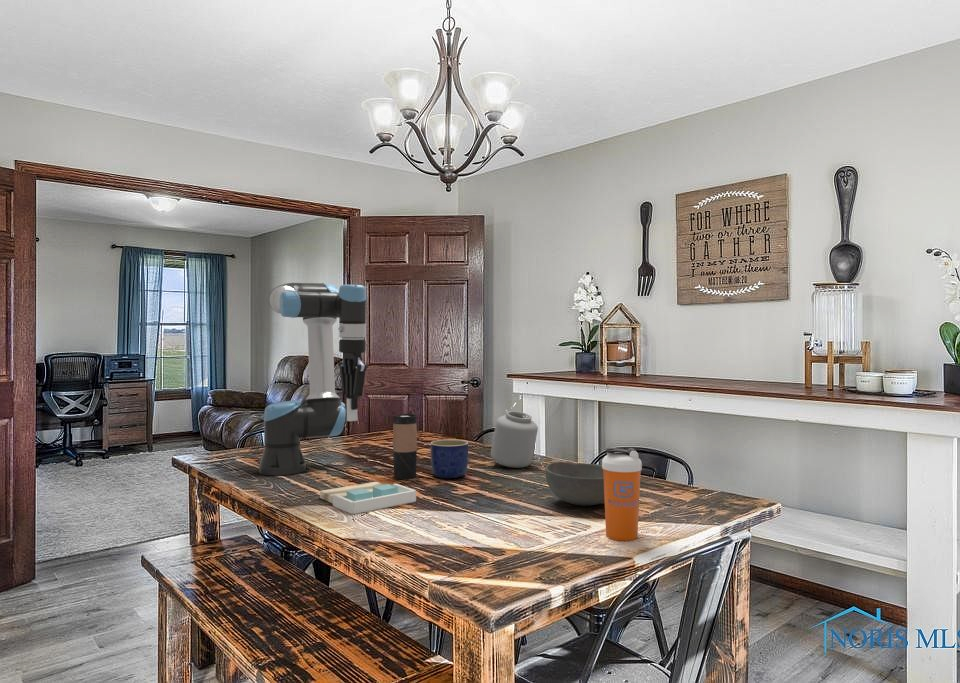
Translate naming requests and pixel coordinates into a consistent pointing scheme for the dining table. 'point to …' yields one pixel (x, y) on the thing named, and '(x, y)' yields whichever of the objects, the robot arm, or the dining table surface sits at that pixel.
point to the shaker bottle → (621, 493)
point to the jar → (514, 440)
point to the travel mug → (404, 446)
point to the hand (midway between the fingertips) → (352, 420)
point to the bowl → (576, 482)
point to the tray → (376, 501)
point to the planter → (449, 458)
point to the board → (342, 491)
